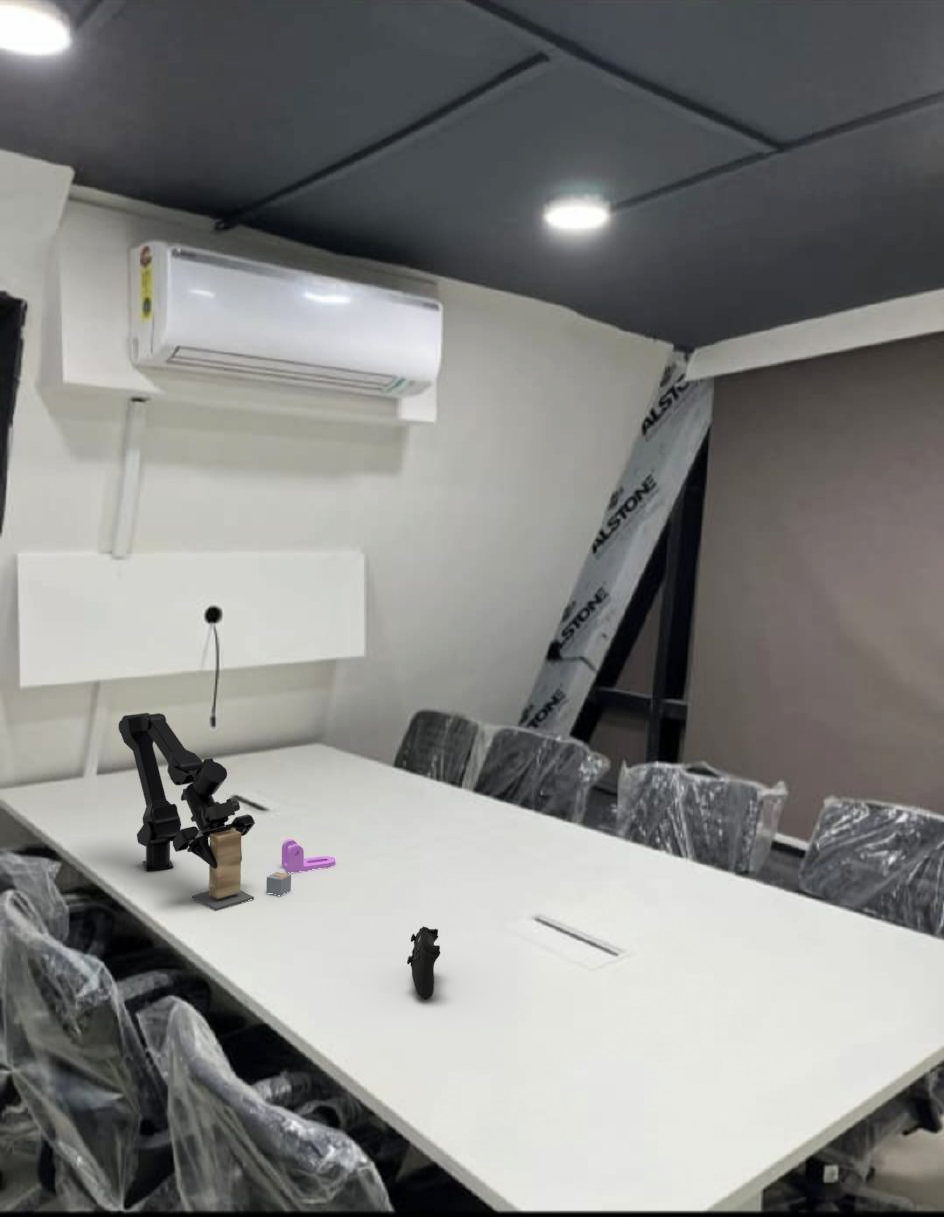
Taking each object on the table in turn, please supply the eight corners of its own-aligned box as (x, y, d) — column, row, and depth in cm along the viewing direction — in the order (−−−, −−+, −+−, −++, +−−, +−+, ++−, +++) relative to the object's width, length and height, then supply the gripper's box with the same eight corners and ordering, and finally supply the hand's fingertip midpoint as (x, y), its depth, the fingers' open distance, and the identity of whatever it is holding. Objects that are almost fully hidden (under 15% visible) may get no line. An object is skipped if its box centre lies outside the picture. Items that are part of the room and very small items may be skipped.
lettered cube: (266, 893, 231) (266, 876, 231) (276, 888, 235) (276, 871, 234) (280, 896, 229) (281, 879, 229) (290, 891, 233) (291, 873, 233)
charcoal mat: (191, 898, 227) (191, 895, 227) (229, 887, 234) (229, 884, 234) (215, 910, 220) (215, 908, 220) (254, 899, 227) (254, 896, 227)
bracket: (288, 874, 244) (289, 846, 244) (281, 867, 249) (282, 840, 249) (338, 866, 251) (339, 840, 250) (330, 860, 255) (331, 833, 255)
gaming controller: (405, 967, 194) (406, 918, 193) (436, 967, 195) (437, 918, 194) (406, 1002, 180) (408, 949, 179) (440, 1002, 181) (441, 948, 180)
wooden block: (209, 894, 225) (209, 834, 224) (231, 888, 230) (232, 828, 228) (217, 898, 223) (218, 838, 222) (240, 892, 227) (241, 832, 226)
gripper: (179, 794, 220) (206, 855, 214) (251, 780, 234) (278, 837, 227) (161, 820, 226) (186, 881, 220) (232, 805, 240) (257, 862, 233)
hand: (228, 864), depth 225 cm, fingers closed on wooden block, 6 cm apart
